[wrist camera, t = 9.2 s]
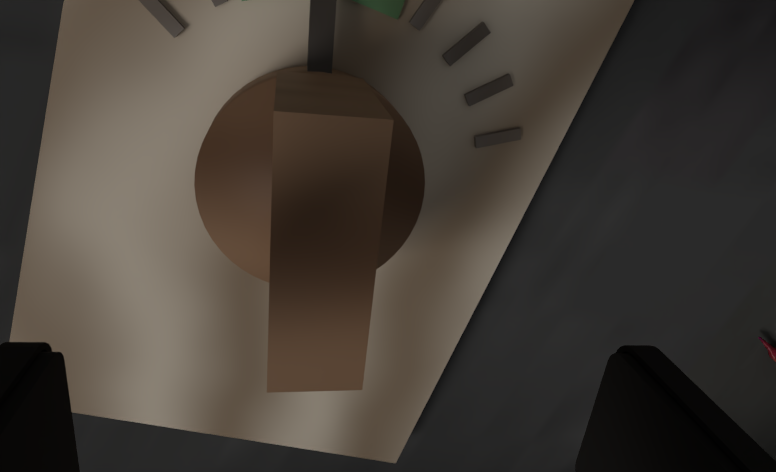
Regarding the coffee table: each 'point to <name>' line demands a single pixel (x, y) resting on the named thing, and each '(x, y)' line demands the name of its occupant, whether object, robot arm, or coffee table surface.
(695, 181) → the coffee table surface
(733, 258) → the coffee table surface
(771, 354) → the decorative bird figurine
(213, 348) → the dial board
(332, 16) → the knob
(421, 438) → the coffee table surface
